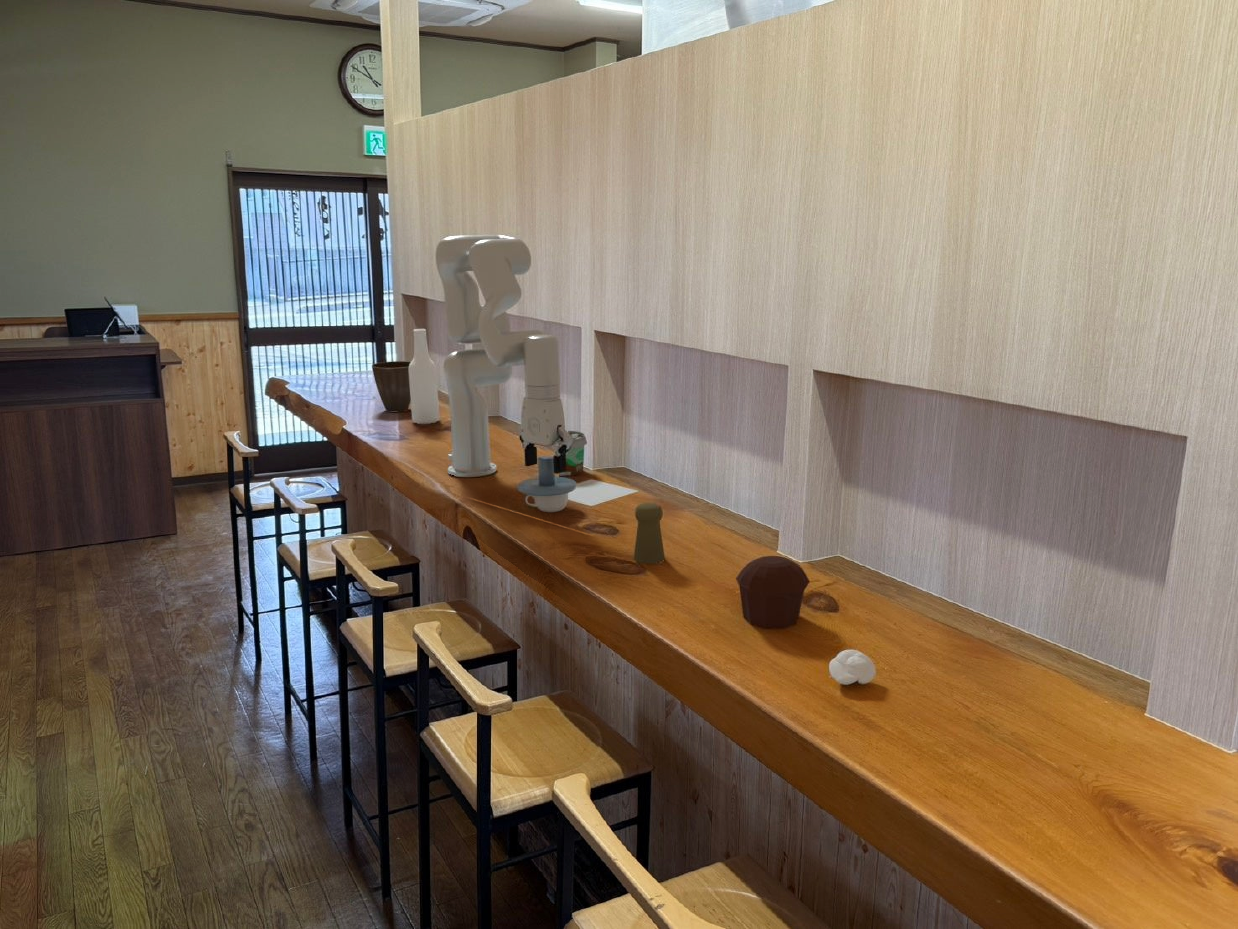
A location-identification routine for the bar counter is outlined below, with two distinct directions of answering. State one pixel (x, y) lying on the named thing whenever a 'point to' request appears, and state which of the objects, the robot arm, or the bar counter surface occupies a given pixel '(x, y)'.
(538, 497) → the teacup
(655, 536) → the cork
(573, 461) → the food container
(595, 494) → the mat
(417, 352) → the alcohol
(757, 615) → the muffin
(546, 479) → the lid
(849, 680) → the dumpling
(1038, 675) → the bar counter surface
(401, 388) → the plant pot
